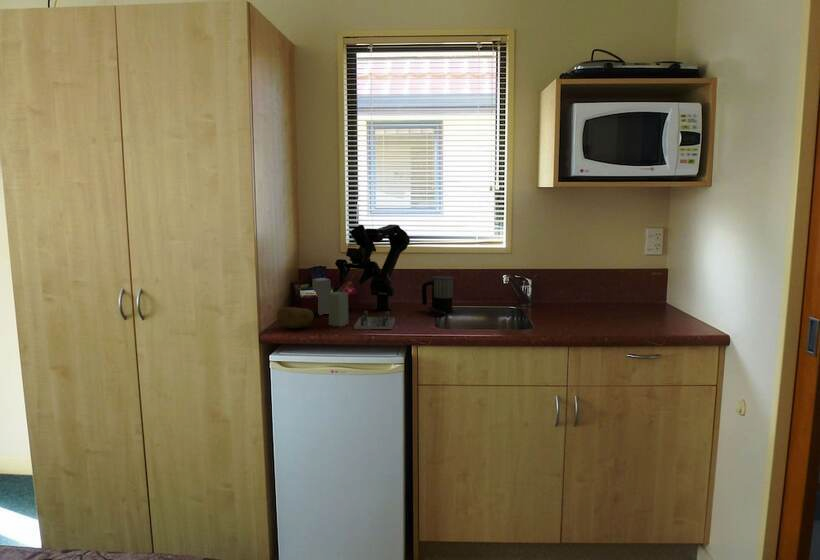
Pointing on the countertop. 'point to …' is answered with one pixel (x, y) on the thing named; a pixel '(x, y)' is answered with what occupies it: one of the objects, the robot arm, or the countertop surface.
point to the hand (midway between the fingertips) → (349, 283)
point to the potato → (294, 317)
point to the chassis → (374, 322)
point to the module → (338, 308)
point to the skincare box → (322, 294)
